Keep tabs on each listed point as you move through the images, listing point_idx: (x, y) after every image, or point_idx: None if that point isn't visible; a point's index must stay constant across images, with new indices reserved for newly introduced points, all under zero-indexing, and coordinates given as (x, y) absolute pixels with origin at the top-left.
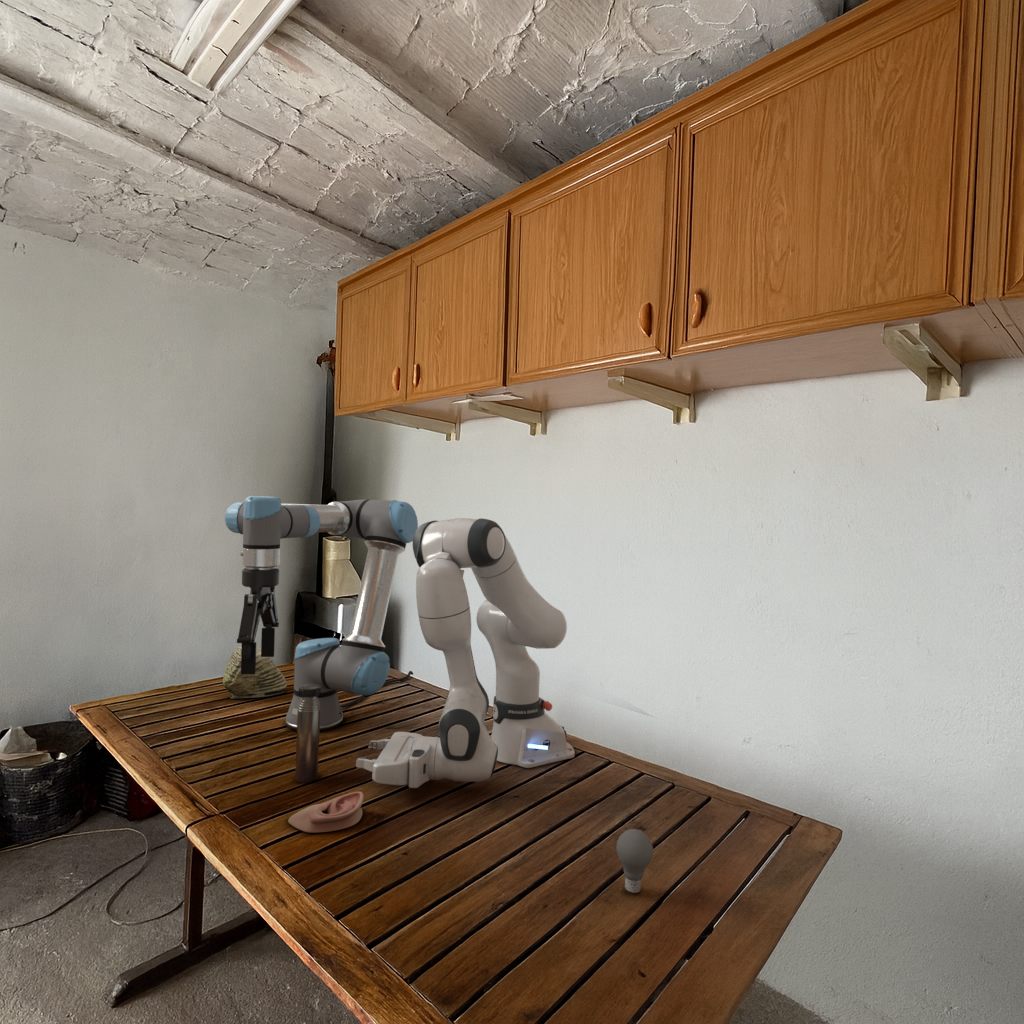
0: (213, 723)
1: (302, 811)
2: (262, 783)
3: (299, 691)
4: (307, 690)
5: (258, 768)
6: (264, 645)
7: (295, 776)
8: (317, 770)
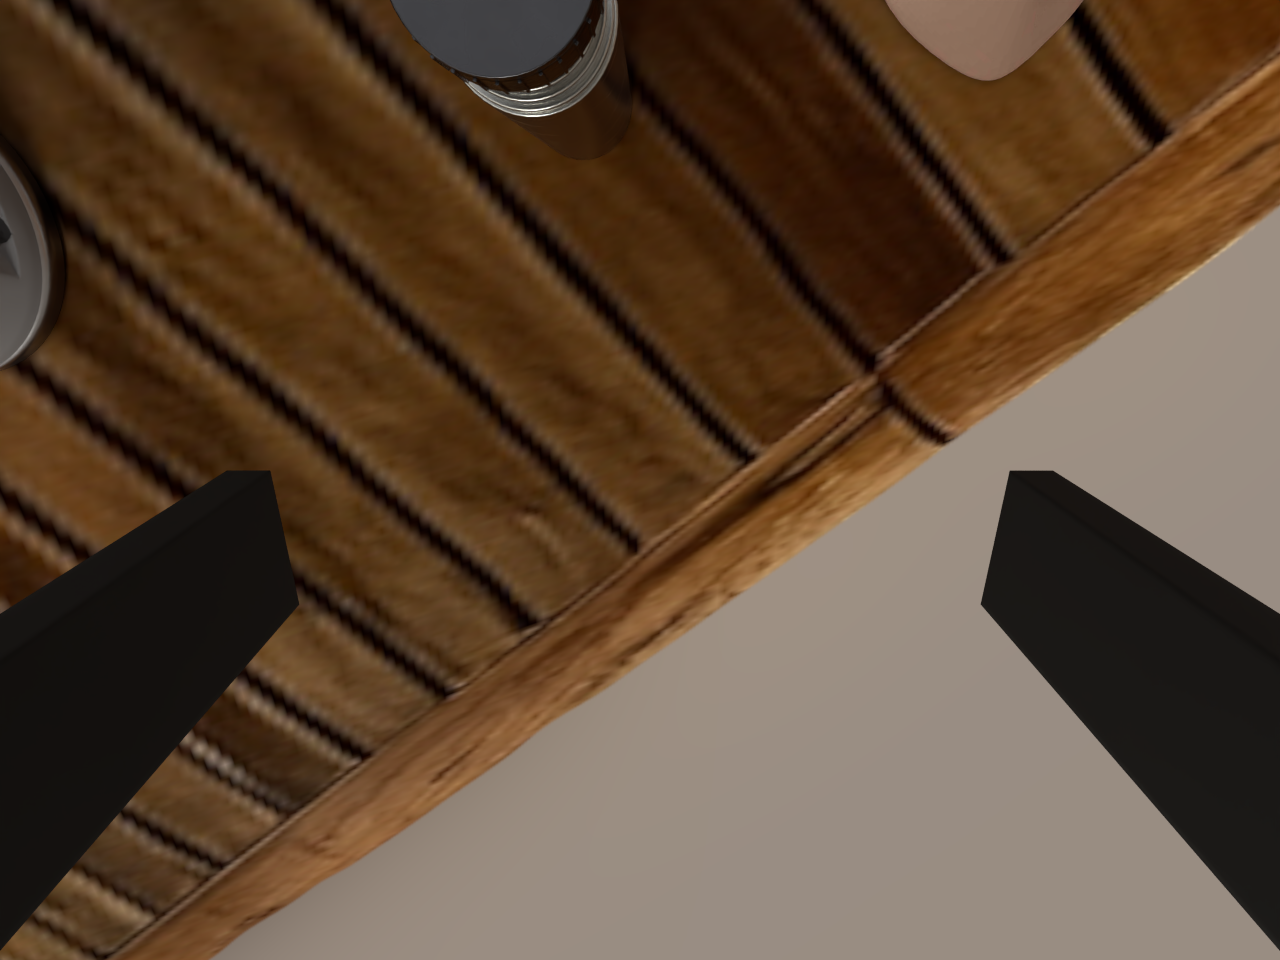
0: None
1: (995, 11)
2: (636, 291)
3: (550, 72)
4: None
5: (497, 350)
6: (208, 658)
7: (604, 152)
8: None
